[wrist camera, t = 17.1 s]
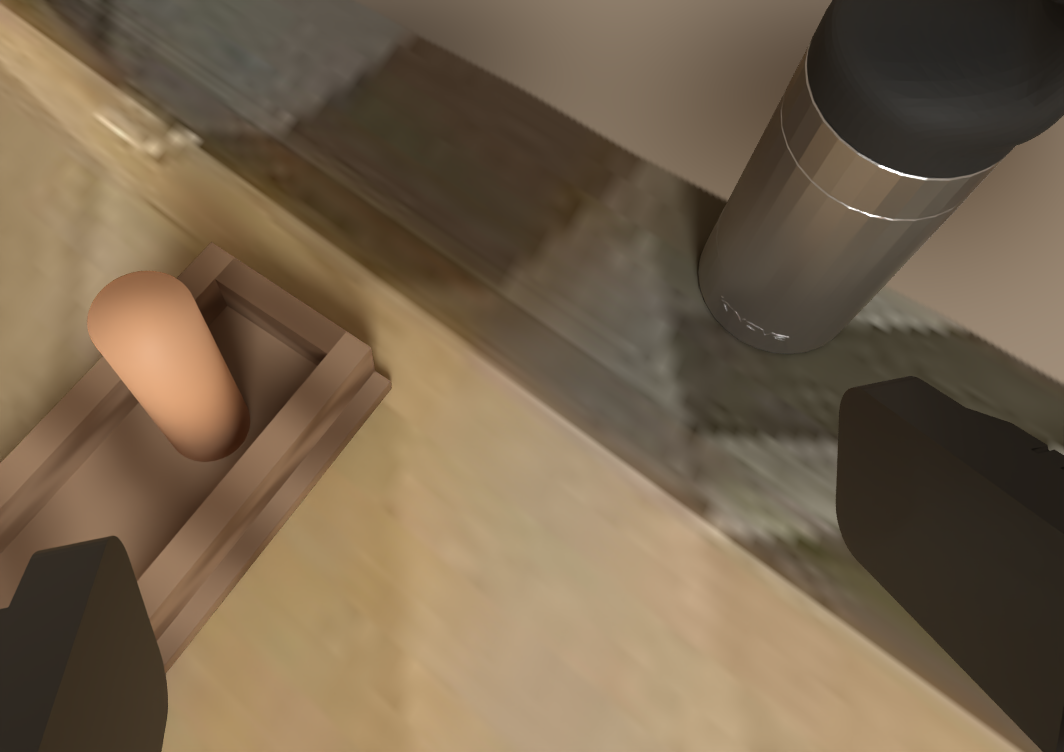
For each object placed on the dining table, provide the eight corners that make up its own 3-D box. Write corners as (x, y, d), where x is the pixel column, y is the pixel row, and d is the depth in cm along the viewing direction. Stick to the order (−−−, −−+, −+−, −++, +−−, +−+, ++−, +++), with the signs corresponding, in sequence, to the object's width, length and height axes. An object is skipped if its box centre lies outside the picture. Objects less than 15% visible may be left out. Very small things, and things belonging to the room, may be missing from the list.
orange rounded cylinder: (204, 372, 48) (138, 252, 37) (266, 414, 48) (218, 306, 37) (150, 432, 47) (64, 327, 36) (213, 477, 46) (146, 383, 35)
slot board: (213, 269, 51) (195, 231, 48) (391, 388, 50) (387, 358, 46) (-73, 574, 44) (-119, 556, 40) (125, 724, 43) (95, 720, 39)
